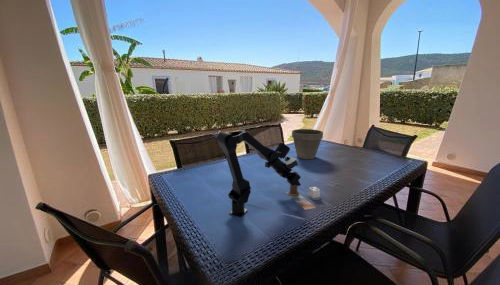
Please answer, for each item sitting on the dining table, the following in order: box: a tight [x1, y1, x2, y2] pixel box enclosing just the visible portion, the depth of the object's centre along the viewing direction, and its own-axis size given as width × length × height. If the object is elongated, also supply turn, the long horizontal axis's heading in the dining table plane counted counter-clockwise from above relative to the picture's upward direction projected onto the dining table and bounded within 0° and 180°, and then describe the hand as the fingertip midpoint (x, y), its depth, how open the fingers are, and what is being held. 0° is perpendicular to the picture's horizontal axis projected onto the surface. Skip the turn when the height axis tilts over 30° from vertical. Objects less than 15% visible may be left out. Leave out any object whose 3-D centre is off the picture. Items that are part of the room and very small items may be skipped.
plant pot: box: [291, 128, 324, 160], centre depth 182 cm, size 25×25×22 cm
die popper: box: [306, 186, 322, 201], centre depth 116 cm, size 7×7×5 cm
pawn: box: [287, 171, 300, 197], centre depth 119 cm, size 6×6×13 cm
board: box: [285, 191, 316, 211], centre depth 114 cm, size 20×9×1 cm, turn 19°
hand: (296, 182), depth 119 cm, fingers open, 7 cm apart
